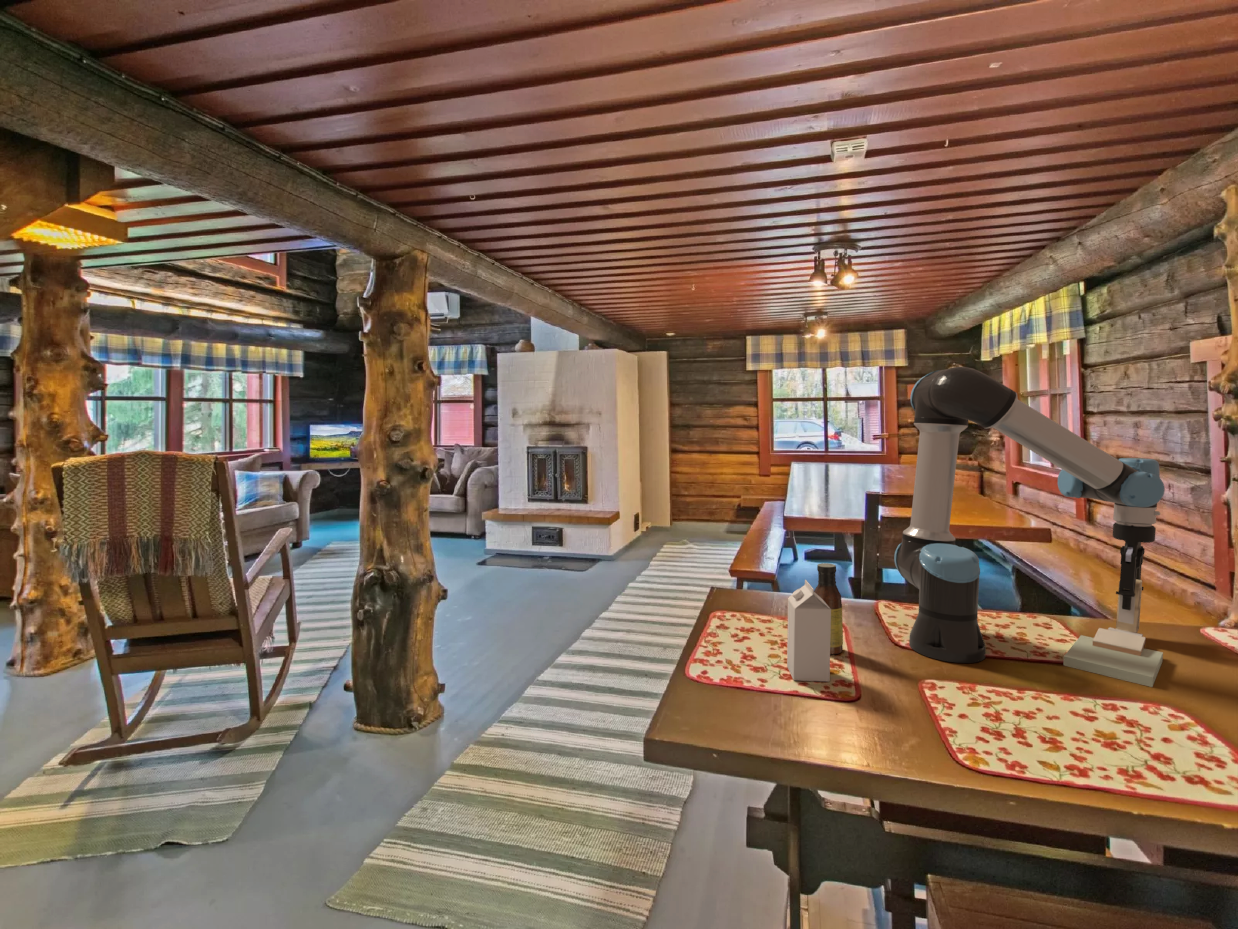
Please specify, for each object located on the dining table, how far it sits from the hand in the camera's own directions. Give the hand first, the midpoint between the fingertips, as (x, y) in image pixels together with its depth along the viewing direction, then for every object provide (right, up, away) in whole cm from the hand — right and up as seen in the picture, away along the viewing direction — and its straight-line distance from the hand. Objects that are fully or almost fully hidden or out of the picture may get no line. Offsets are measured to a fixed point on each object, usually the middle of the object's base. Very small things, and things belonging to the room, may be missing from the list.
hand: (1127, 619), depth 137 cm
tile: (-10, -3, -9) cm, 14 cm away
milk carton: (-83, -7, -18) cm, 85 cm away
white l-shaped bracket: (-3, -3, -3) cm, 5 cm away
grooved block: (-15, -6, -14) cm, 22 cm away
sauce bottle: (-74, -6, -6) cm, 74 cm away
